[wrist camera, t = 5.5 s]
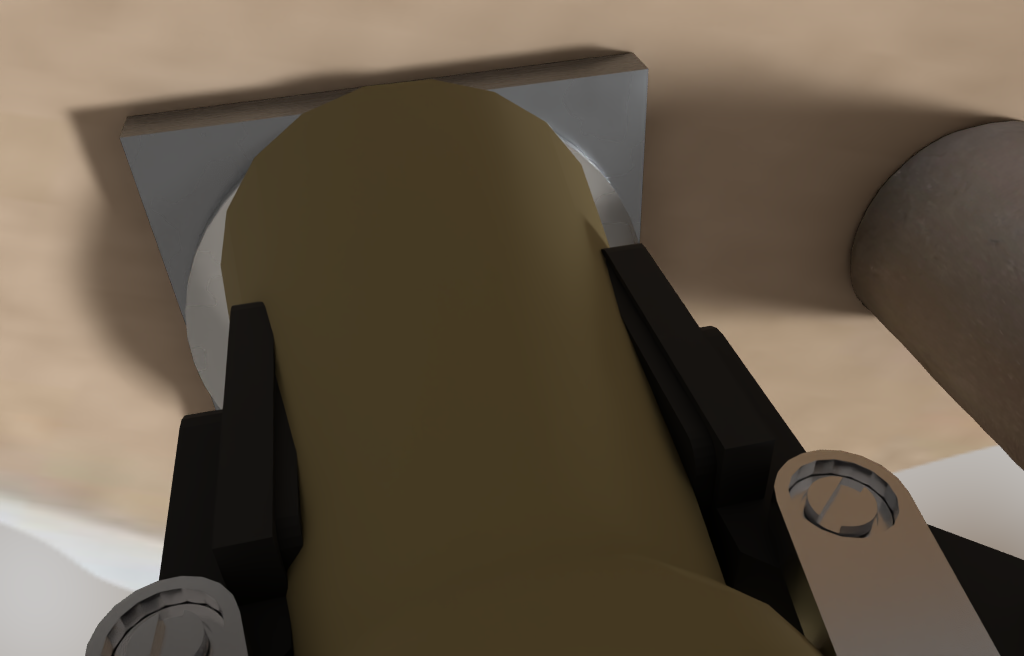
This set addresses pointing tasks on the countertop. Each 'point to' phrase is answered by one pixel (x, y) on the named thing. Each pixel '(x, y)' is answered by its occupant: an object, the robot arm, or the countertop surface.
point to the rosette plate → (255, 124)
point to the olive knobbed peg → (468, 396)
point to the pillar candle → (955, 270)
